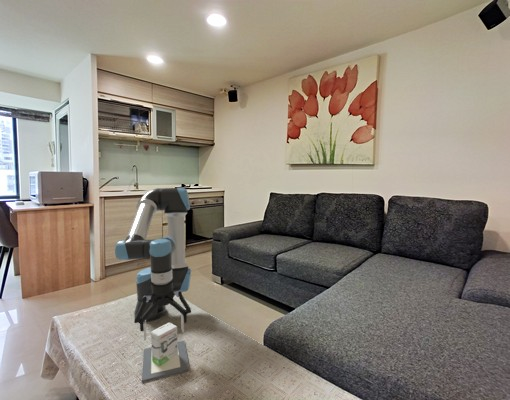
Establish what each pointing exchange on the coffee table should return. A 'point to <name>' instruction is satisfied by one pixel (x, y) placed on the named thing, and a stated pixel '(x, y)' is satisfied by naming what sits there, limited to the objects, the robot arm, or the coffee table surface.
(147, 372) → the writing mat
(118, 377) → the coffee table surface
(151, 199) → the robot arm
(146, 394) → the coffee table surface
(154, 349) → the ink box
